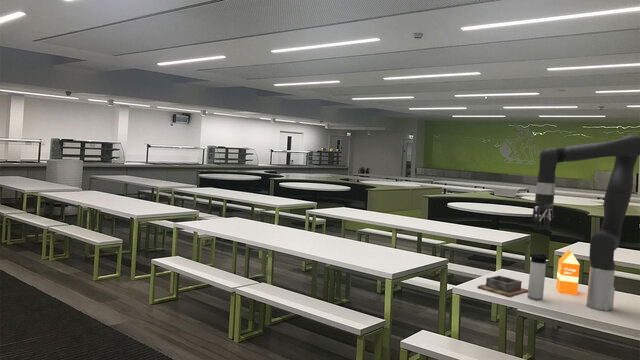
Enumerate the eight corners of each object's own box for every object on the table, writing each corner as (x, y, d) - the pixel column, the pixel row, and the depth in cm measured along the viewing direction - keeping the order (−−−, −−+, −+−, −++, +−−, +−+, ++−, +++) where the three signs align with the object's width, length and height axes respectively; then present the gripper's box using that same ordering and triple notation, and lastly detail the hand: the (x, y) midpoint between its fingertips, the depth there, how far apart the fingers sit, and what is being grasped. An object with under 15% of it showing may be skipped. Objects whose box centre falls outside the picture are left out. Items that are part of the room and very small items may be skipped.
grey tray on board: (528, 291, 221) (529, 281, 221) (509, 297, 210) (510, 286, 209) (497, 283, 233) (498, 273, 233) (477, 288, 222) (478, 277, 222)
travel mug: (546, 300, 209) (550, 256, 208) (535, 301, 207) (539, 256, 205) (535, 296, 215) (539, 253, 214) (524, 296, 212) (528, 253, 211)
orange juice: (559, 292, 223) (562, 251, 222) (555, 288, 232) (559, 248, 231) (577, 295, 221) (581, 253, 220) (573, 290, 229) (577, 250, 228)
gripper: (546, 194, 201) (542, 231, 202) (560, 194, 210) (557, 229, 211) (528, 192, 207) (525, 228, 207) (544, 192, 216) (540, 227, 216)
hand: (541, 229), depth 209 cm, fingers open, 8 cm apart
